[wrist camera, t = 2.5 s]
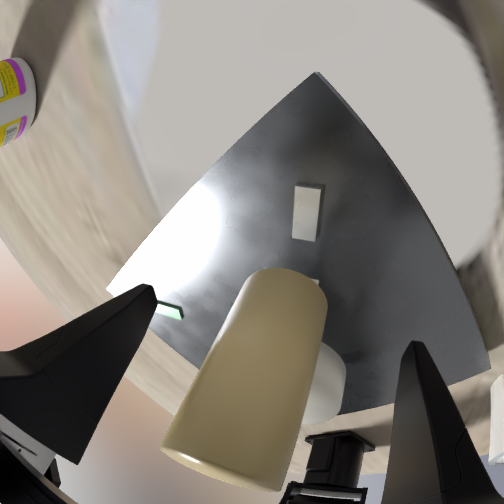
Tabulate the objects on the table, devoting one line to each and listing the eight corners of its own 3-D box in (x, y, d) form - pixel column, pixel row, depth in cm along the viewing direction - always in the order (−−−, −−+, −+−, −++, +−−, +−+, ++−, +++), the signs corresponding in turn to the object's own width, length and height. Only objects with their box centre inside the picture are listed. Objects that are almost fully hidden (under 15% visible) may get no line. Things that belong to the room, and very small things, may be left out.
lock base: (487, 351, 14) (494, 389, 12) (282, 410, 26) (273, 437, 24) (318, 71, 10) (307, 72, 7) (117, 276, 22) (93, 303, 19)
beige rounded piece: (331, 405, 17) (302, 516, 11) (228, 381, 18) (181, 482, 12) (393, 255, 10) (387, 494, 4) (206, 223, 11) (75, 393, 5)
